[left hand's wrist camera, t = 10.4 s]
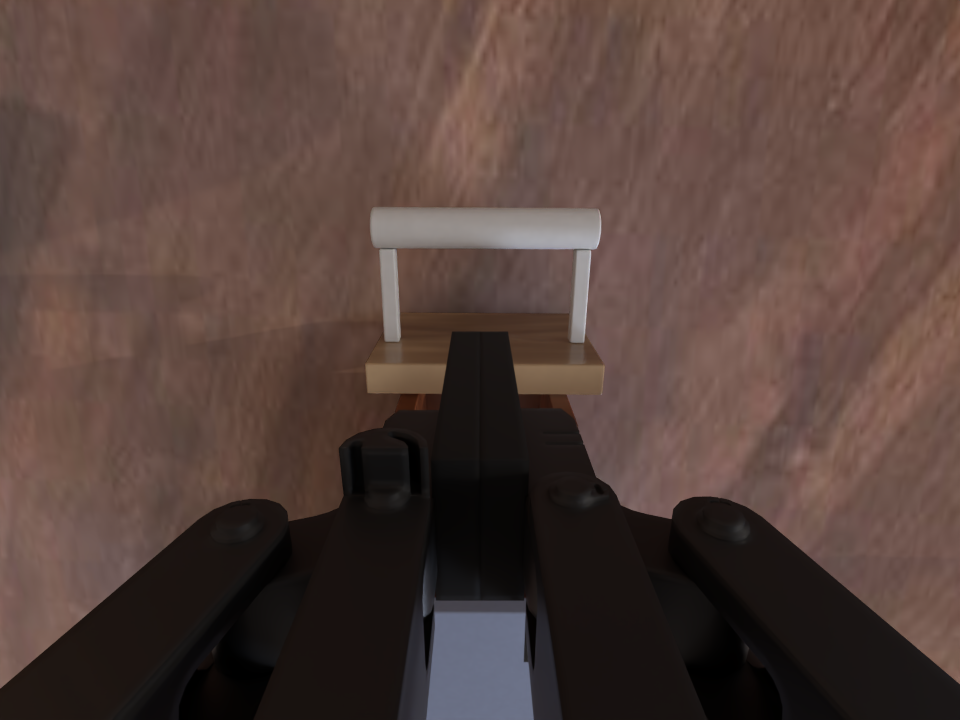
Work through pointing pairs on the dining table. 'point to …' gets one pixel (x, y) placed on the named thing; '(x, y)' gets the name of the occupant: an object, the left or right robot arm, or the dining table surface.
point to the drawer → (533, 337)
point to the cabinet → (479, 662)
